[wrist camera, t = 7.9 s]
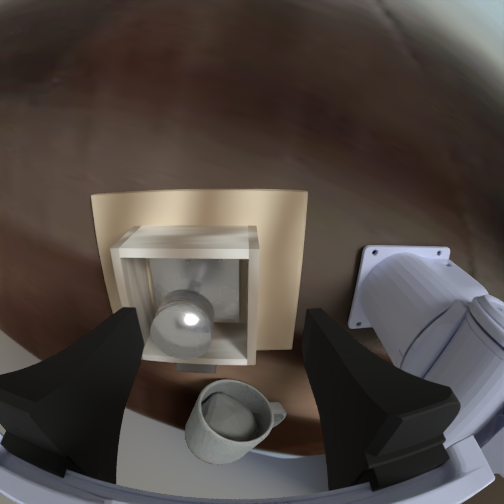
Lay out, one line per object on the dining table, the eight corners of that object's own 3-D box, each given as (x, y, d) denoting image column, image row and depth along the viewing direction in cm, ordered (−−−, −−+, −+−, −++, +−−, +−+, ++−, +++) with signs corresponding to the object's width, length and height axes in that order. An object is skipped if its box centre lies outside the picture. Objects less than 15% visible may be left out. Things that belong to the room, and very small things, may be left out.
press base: (305, 190, 20) (324, 207, 15) (290, 345, 25) (298, 384, 20) (94, 194, 19) (59, 211, 15) (123, 339, 25) (106, 374, 20)
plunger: (239, 242, 20) (237, 288, 14) (239, 318, 23) (238, 377, 17) (149, 242, 20) (116, 285, 14) (160, 316, 23) (139, 370, 17)
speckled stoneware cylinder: (185, 411, 29) (178, 465, 22) (201, 370, 26) (194, 434, 19) (268, 426, 31) (273, 477, 24) (297, 389, 28) (309, 447, 21)
